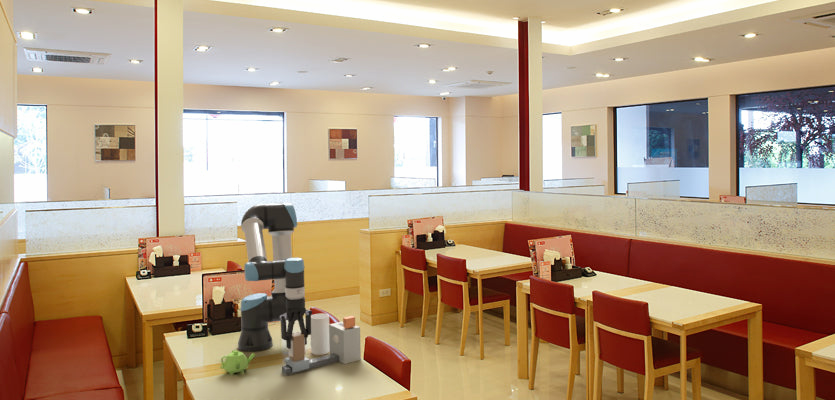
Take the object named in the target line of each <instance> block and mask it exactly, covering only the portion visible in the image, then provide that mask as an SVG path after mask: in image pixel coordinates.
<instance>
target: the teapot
mask: <svg viewBox="0 0 835 400" xmlns="http://www.w3.org/2000/svg"><path fill="white" fill-rule="evenodd" d="M255 356H256V353H254V352H251V354H250V355H249V356H248V357H247V356H246V355H245V354H244V353H243V352H241V351H239V350H232V351H231V352H230V353H229V354H228V355H223V356H222V357H221V359H220V362H221V364H220V366H219V368H220V369H221V370H225V371H226V372H227V373H229V374H228V375H229V376H232V375H235V373H240V374H244V373H245V371H246V370H247V369H248V368H249V363H251V361H252V360H253V359H254V358H255ZM223 359H225V360H224V361H223Z"/></svg>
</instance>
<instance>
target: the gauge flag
mask: <svg viewBox="0 0 835 400" xmlns="http://www.w3.org/2000/svg"><path fill="white" fill-rule="evenodd" d="M342 321H343V327H344V328H351V327H355V325H356V316H353V315H349V316H345V317H343V318H342Z"/></svg>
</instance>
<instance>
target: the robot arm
mask: <svg viewBox="0 0 835 400" xmlns="http://www.w3.org/2000/svg"><path fill="white" fill-rule="evenodd" d="M240 224H241V225H240V226H241V231H242V232H243V234H244V238H245V246H246V253H247V261H248V262H245V263H244V265H243V266H244V267H243V268H244V279H245V281H246V282H259V281H266V280H267V281H269V280H273V281H274V288H273V290H272V291H271V295H270V296H268V294H267V293H264V292H261V293H260V292H258V293H253V294H249V295H247V296H244V297H243V298H242V299H241V300H240V319H241V320H240V323H241V324H240V325H241V330H240V335H239V337H238V342H237V349H238V351H243V352H260V351H263V350H267V349H269V348H271V347H272V346H273V345H274V343H273V338H272V335H271V332H270V328H269V323H273V322H280V333H281V334H280V335H281V339H282V340H284V341H285V342H286V349H288V357H290V356H291V357H294V355H293V340H291V338H292V333H294V332H293V331H294V325H295V323H296V321H297V322H298V326H299V329H300V333H302V334H304V352H305V353H306V345H307V344H308V340H307V339H308V337H309V336H311V315H313V311H312V310H310V309H306V297H305V295H306V291H305V289H306V288H305V263H304V258H302V257H293V254H292V253H293V250H292V234H293V233H294V232H295V229H296V228H297V227H298V220H297V213H296V209H295V207H294V205H293V204H292V203H289V202H275V203H257V204H254V205H253V206H252V207H250V208H249V209H248V210H247V211H246V212H245V213H244V215H243V216H242V218H241V223H240ZM263 230H267V231H268V232H267V233H268V234H269V235H270V236H271V242H272V243H271V244H272V260H268V257H267V252H266V245H265V240H264V235H263V234H264V233H263ZM304 316H305V319H304ZM304 321H305V322H304Z"/></svg>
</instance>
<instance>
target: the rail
mask: <svg viewBox="0 0 835 400" xmlns="http://www.w3.org/2000/svg"><path fill="white" fill-rule="evenodd" d="M309 359H310V364H309V368H308V369H304V370H301V371H297V372H292V367H291V366H289V365H286V364H285V365H283V366H281V373H282V374H283V375H285V376H290V375H294V374H298V373H301V372H305V371H309V370H313V369H316V368H320V367H323V366H327V365H331V364H332V365H333V364H334V363H338V362H340V361H339V355H337V354H335V353H333V354H330V353H328V354H324V355H321V356H318V357H314V358H309Z"/></svg>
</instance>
